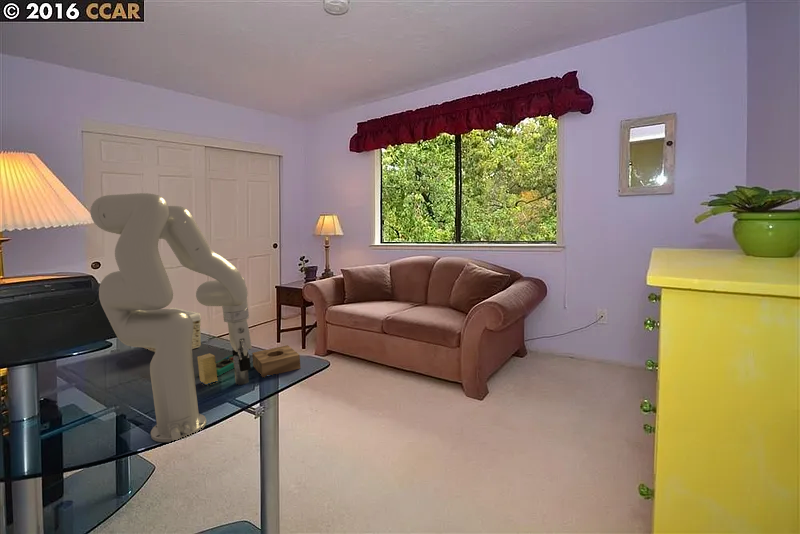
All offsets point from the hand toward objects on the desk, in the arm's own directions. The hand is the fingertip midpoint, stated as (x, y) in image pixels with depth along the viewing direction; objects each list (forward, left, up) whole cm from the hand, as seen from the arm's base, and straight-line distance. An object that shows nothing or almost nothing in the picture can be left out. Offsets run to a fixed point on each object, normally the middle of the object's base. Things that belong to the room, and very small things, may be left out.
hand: (241, 365), depth 134 cm
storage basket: (+56, +17, -6) cm, 59 cm away
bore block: (+5, -12, -6) cm, 15 cm away
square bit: (+6, +10, -6) cm, 13 cm away
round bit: (-1, +1, -6) cm, 6 cm away
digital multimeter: (+16, +3, -6) cm, 18 cm away
